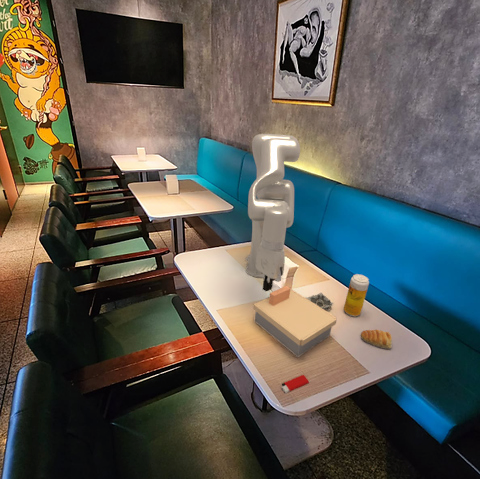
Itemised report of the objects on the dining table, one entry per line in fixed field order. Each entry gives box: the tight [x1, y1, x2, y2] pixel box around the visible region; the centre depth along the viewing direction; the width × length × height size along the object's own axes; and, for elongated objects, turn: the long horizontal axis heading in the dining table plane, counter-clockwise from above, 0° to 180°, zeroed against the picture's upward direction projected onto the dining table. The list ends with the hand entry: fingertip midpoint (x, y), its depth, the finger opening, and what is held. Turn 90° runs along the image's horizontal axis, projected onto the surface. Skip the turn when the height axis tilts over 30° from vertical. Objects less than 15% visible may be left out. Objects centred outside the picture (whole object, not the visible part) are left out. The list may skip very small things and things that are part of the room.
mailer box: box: [254, 310, 333, 358], centre depth 102 cm, size 20×16×6 cm
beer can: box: [343, 273, 370, 317], centre depth 111 cm, size 6×6×15 cm
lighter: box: [281, 374, 310, 394], centre depth 83 cm, size 3×1×8 cm
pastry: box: [360, 329, 393, 350], centre depth 100 cm, size 9×7×4 cm
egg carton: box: [305, 292, 334, 311], centre depth 114 cm, size 11×8×4 cm
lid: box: [252, 285, 337, 346], centre depth 100 cm, size 21×18×6 cm
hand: (267, 289), depth 109 cm, fingers closed
